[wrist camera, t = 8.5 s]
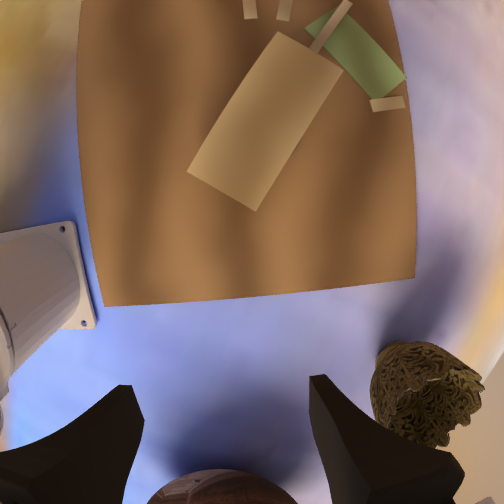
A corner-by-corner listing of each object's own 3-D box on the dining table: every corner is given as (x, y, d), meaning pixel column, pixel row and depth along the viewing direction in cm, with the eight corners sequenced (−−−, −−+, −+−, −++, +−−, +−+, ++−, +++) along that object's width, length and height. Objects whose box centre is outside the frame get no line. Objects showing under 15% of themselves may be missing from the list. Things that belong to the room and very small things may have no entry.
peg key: (193, 168, 18) (179, 167, 14) (316, -11, 15) (330, -45, 11) (259, 206, 19) (263, 216, 15) (374, 24, 16) (400, -3, 12)
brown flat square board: (110, 300, 21) (103, 307, 20) (88, 7, 16) (81, 0, 15) (407, 272, 21) (416, 278, 20) (375, -19, 16) (381, -27, 14)
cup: (401, 296, 21) (460, 349, 14) (446, 345, 23) (497, 398, 15) (330, 367, 23) (359, 441, 15) (383, 405, 24) (417, 470, 16)
